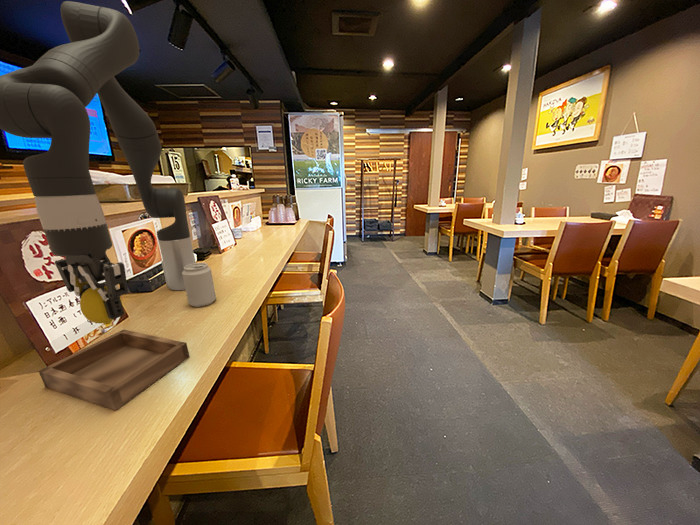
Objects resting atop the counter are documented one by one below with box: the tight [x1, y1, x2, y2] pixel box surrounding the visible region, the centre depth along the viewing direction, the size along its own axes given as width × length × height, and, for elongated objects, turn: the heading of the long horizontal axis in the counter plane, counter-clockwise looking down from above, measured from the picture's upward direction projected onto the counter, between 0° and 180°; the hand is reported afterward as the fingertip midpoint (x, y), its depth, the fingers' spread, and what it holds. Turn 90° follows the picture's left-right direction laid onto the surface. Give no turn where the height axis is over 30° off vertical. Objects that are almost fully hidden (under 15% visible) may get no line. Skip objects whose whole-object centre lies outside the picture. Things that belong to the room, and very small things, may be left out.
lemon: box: [79, 287, 123, 325], centre depth 49 cm, size 6×6×8 cm
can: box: [182, 262, 217, 308], centre depth 80 cm, size 8×8×12 cm
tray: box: [38, 329, 190, 412], centre depth 53 cm, size 18×14×4 cm
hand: (105, 314), depth 50 cm, fingers closed on lemon, 5 cm apart
